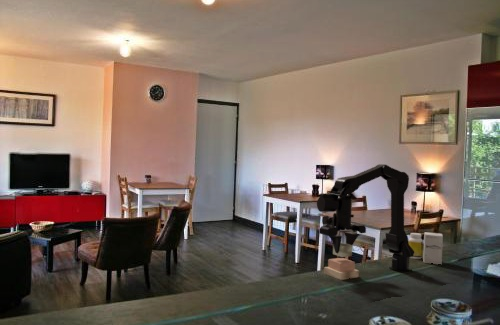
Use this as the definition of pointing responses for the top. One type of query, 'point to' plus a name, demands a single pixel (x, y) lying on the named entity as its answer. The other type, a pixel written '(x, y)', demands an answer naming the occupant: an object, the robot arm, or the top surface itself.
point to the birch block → (341, 273)
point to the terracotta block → (341, 264)
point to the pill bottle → (416, 245)
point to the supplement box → (433, 248)
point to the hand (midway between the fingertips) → (342, 252)
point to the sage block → (344, 250)
